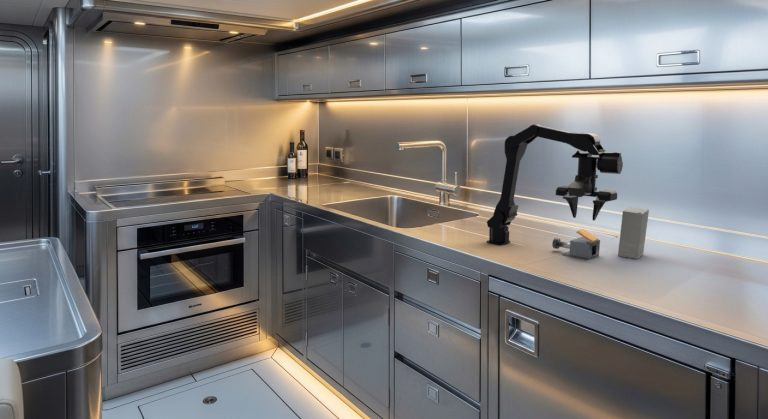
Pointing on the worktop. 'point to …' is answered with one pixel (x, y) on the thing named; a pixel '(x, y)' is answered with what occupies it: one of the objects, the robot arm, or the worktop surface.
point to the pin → (560, 244)
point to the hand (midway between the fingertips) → (584, 219)
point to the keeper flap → (587, 235)
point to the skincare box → (633, 232)
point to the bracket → (583, 249)
